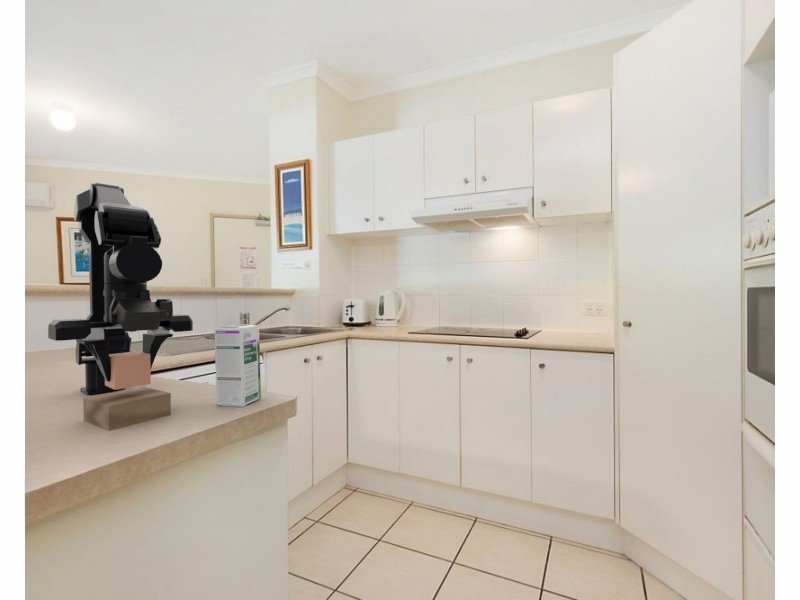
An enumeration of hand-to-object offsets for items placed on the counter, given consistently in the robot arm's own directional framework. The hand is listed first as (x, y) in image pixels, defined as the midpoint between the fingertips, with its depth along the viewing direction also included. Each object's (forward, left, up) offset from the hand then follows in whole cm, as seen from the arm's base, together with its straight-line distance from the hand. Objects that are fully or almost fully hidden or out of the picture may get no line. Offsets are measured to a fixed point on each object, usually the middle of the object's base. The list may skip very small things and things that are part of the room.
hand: (127, 378), depth 64 cm
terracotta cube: (0, 0, -1) cm, 1 cm away
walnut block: (0, 0, -7) cm, 7 cm away
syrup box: (+6, +16, -7) cm, 18 cm away
